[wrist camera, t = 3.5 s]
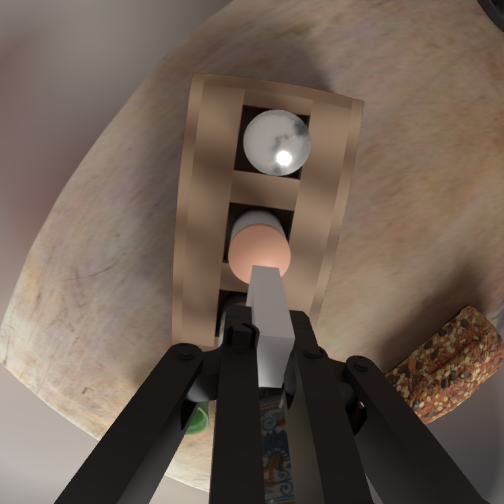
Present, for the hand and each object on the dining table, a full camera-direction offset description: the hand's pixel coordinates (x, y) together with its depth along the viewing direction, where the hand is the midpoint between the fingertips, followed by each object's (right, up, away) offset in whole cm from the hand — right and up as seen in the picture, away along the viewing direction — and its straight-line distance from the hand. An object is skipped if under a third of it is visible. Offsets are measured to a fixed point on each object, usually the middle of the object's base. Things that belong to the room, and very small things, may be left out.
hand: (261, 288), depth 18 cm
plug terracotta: (0, +4, +10) cm, 11 cm away
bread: (+29, -14, +24) cm, 40 cm away
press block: (0, +6, +15) cm, 16 cm away
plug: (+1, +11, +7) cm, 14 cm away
